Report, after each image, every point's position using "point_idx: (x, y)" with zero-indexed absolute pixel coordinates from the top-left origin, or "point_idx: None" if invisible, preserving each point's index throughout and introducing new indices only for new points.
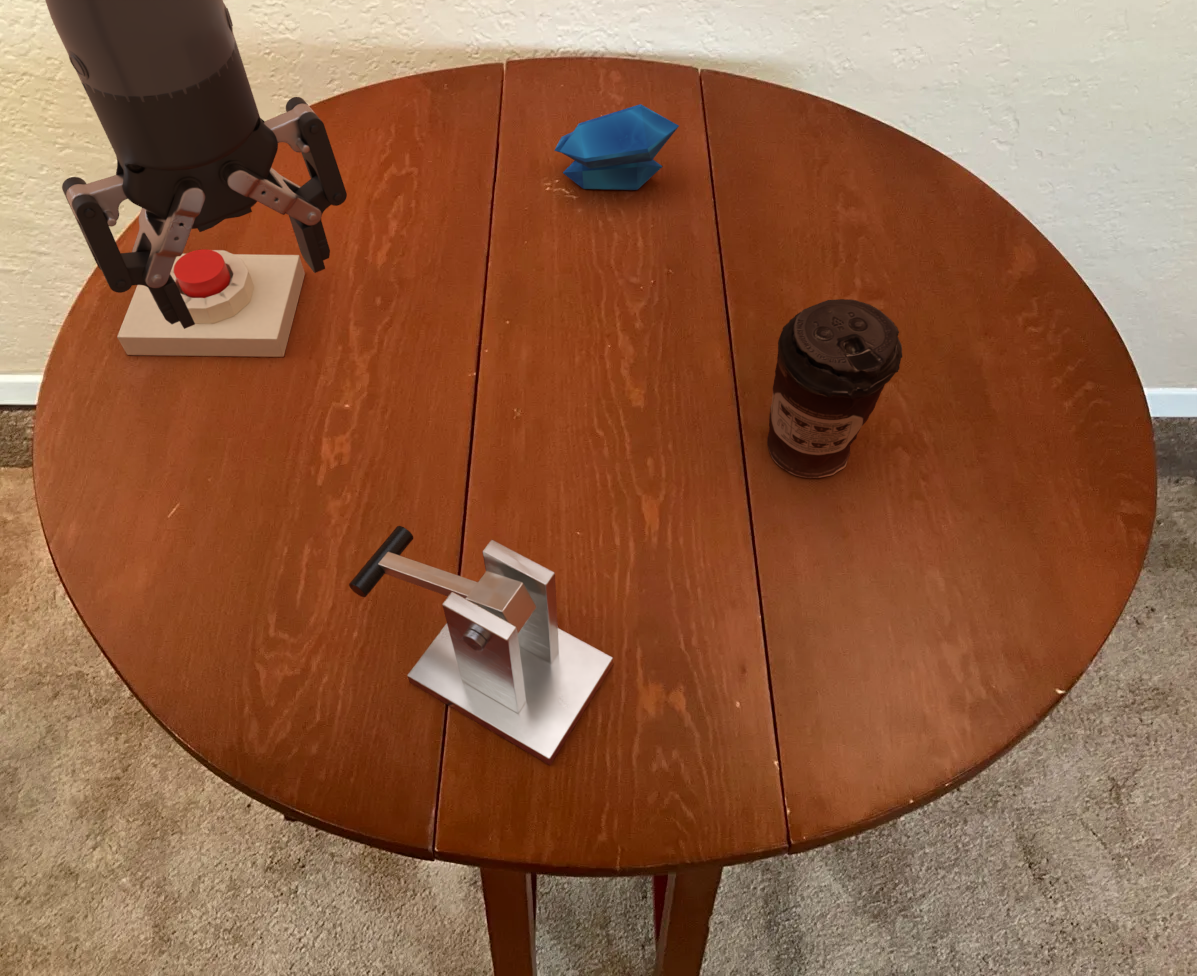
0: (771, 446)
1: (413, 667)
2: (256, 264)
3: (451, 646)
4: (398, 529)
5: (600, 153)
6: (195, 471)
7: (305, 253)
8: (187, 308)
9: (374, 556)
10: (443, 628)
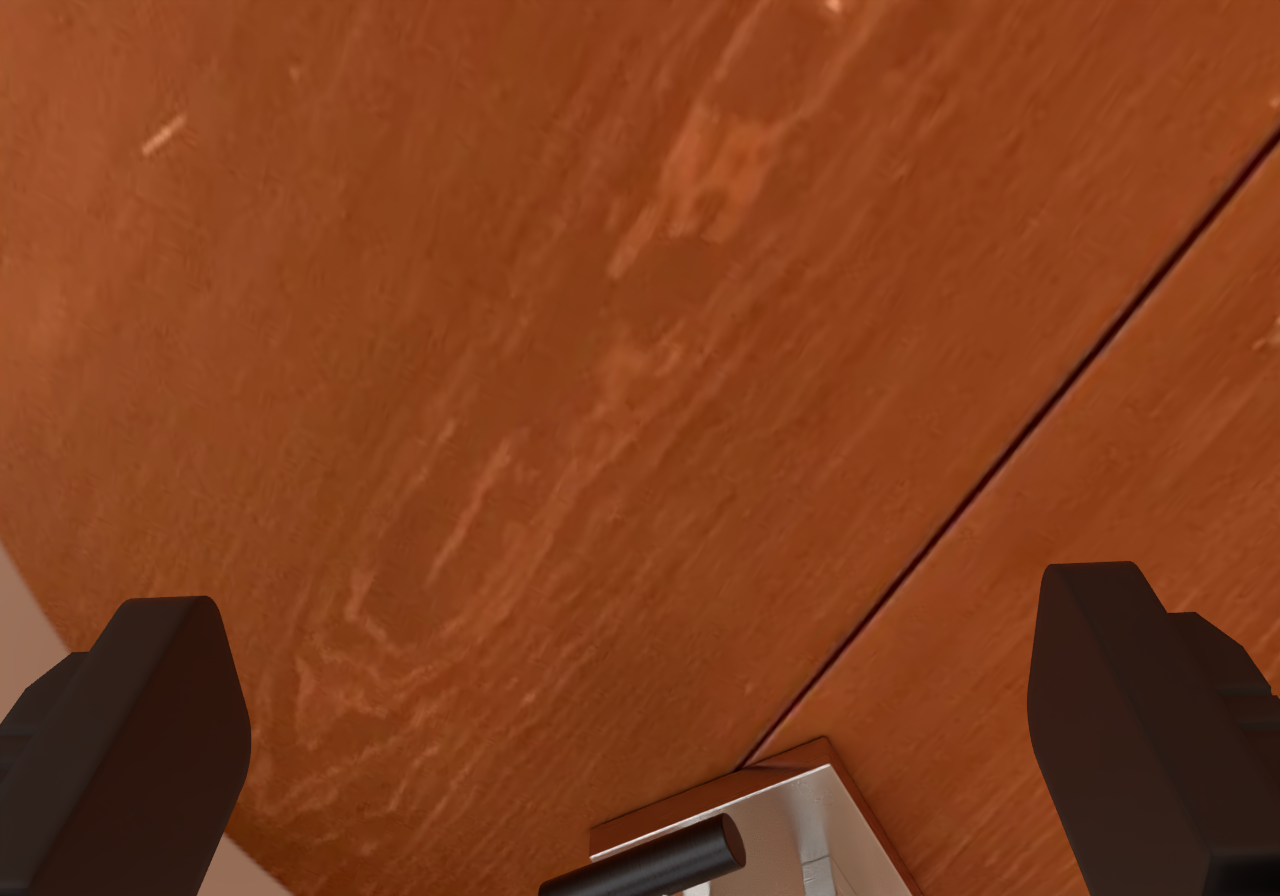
0: None
1: (608, 851)
2: None
3: None
4: (720, 860)
5: None
6: (254, 10)
7: (1068, 723)
8: (204, 872)
9: (627, 889)
10: (707, 815)
